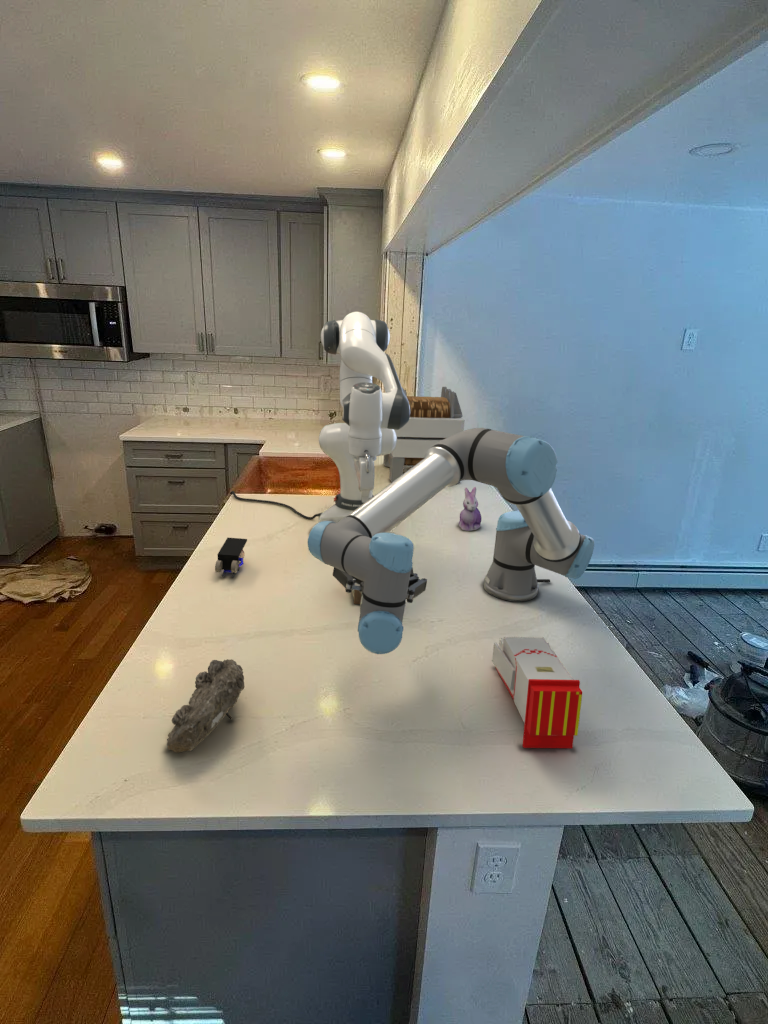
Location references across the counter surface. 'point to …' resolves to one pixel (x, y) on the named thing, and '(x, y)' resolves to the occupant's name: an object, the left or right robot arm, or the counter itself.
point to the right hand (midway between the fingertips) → (379, 565)
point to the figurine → (470, 512)
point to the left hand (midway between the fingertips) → (363, 496)
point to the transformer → (424, 429)
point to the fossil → (206, 705)
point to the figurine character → (230, 556)
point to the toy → (539, 691)
